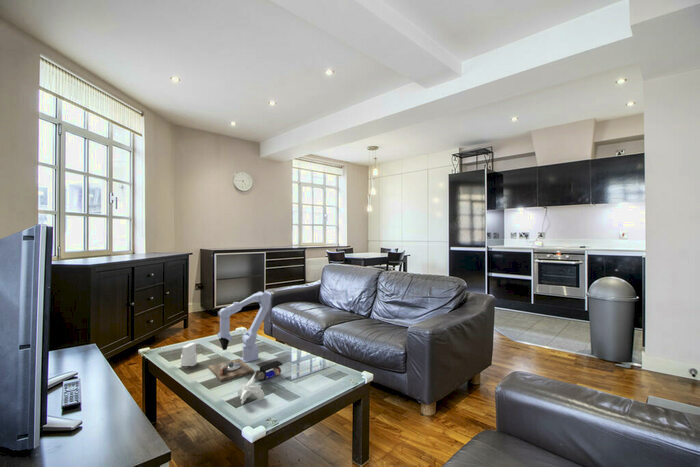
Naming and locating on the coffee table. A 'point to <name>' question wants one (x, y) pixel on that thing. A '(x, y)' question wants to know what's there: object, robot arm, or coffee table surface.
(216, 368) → the base board
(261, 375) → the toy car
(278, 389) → the coffee table surface
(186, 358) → the cylinder with rectangular tab
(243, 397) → the figurine
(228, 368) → the flange plate
